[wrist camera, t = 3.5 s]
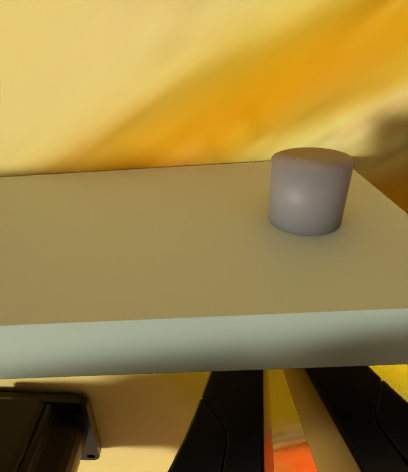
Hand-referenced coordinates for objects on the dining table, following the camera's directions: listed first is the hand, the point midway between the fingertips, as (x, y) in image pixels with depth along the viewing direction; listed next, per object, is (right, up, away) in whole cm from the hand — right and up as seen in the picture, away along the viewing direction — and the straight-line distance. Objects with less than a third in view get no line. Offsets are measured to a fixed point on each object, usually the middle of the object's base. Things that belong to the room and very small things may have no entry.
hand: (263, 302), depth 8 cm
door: (-3, +4, +1) cm, 5 cm away
